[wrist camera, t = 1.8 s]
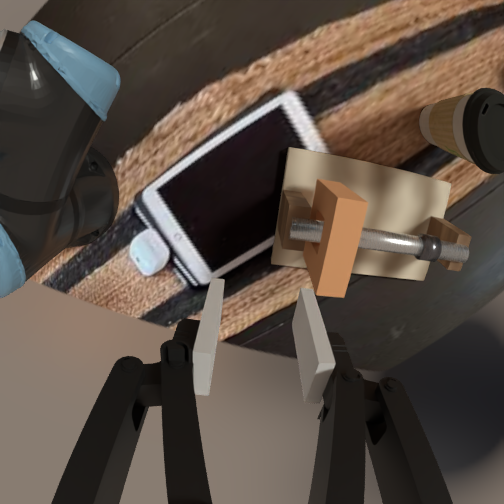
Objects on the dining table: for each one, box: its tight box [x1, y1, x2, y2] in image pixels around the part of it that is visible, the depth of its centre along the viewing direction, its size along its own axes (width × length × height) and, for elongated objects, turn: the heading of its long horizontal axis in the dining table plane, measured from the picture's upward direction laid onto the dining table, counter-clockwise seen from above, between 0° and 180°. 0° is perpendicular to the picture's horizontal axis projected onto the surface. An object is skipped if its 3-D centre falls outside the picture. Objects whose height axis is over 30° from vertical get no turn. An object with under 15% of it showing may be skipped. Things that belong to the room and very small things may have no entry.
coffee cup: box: [419, 88, 504, 174], centre depth 29 cm, size 10×10×15 cm
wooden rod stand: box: [271, 147, 471, 281], centre depth 38 cm, size 25×16×9 cm, turn 83°
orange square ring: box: [303, 179, 368, 298], centre depth 33 cm, size 3×10×10 cm, turn 173°
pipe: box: [289, 217, 469, 263], centre depth 34 cm, size 24×3×3 cm, turn 83°
